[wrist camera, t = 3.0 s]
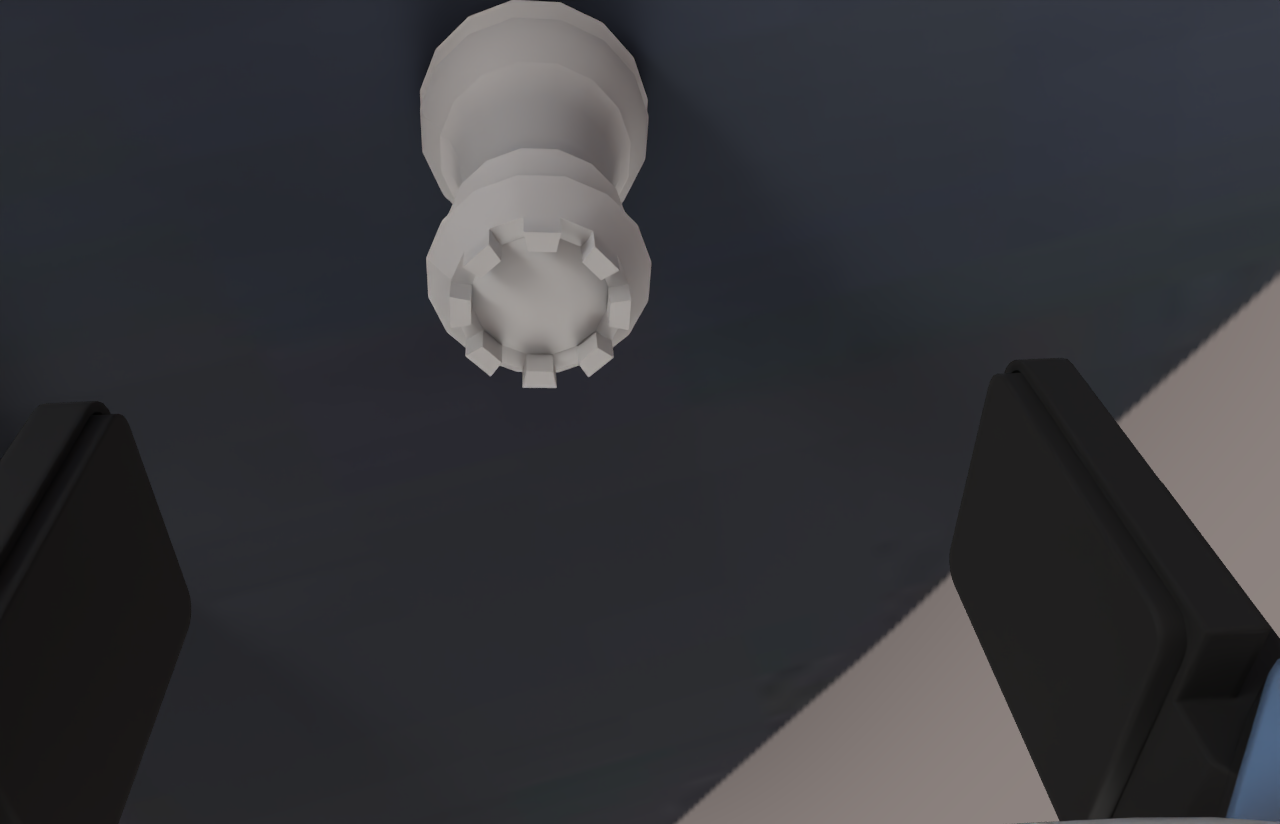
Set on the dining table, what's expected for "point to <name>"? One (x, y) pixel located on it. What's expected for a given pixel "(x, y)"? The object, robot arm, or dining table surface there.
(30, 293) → the dining table surface
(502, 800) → the dining table surface
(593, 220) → the rook chess piece
